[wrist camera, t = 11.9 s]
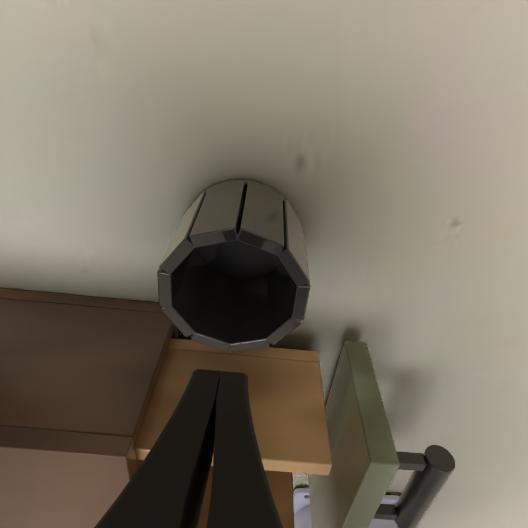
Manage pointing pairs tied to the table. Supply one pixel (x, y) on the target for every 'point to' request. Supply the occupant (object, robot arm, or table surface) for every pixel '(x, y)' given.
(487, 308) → the table surface
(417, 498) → the drawer
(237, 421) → the robot arm
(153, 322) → the cabinet
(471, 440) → the table surface
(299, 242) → the faceted hollow tube
